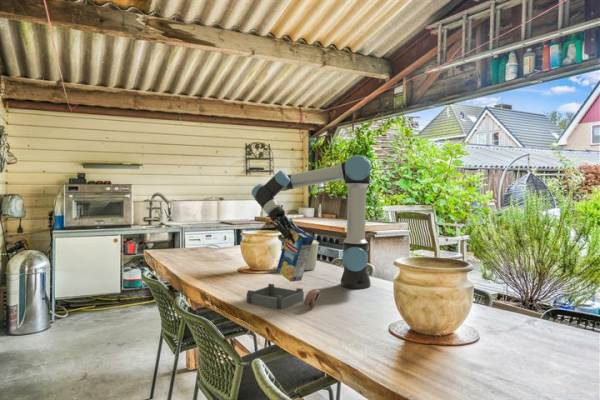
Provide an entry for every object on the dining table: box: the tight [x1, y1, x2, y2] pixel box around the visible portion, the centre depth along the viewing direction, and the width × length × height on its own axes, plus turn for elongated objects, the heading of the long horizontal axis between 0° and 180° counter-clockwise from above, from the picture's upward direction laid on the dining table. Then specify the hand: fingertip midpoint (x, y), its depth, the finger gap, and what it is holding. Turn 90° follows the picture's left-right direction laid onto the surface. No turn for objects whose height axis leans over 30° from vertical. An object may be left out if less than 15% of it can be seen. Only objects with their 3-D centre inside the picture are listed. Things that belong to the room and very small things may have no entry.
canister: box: [304, 239, 320, 272], centre depth 252 cm, size 18×18×21 cm
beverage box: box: [276, 227, 315, 282], centre depth 191 cm, size 7×11×22 cm, turn 44°
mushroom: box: [303, 288, 321, 310], centre depth 168 cm, size 8×6×8 cm
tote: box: [246, 283, 305, 310], centre depth 179 cm, size 19×16×5 cm
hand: (303, 247), depth 189 cm, fingers closed on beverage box, 4 cm apart
